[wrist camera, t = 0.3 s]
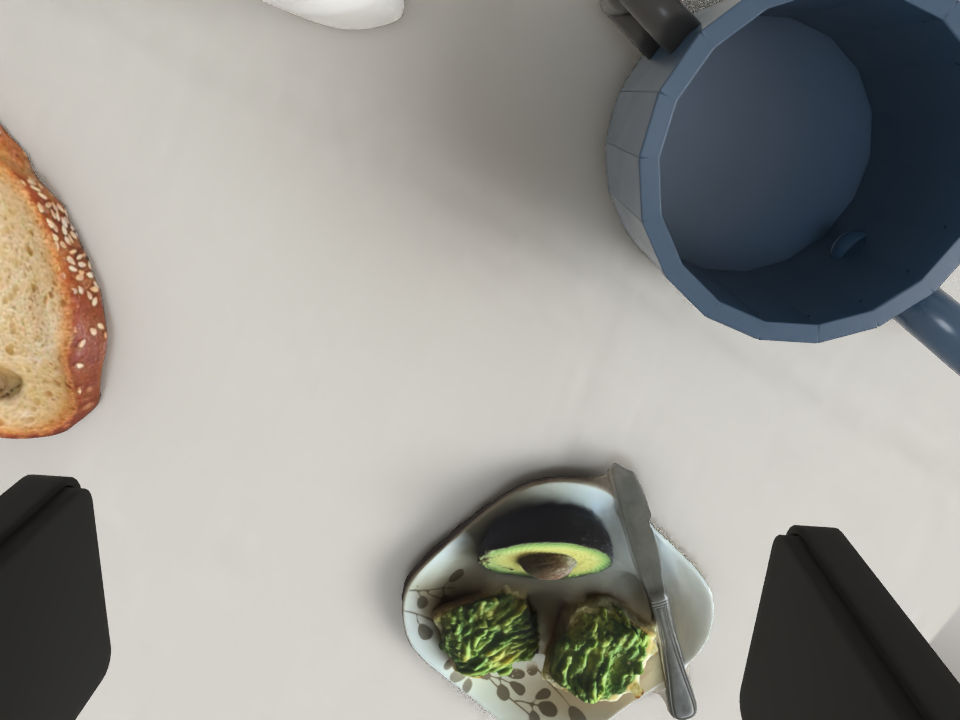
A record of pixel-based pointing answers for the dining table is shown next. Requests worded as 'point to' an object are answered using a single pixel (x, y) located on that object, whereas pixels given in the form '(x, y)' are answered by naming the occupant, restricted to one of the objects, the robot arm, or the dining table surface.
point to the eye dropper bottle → (344, 12)
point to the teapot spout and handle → (933, 321)
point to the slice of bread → (44, 308)
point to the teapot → (796, 161)
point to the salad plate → (561, 603)
